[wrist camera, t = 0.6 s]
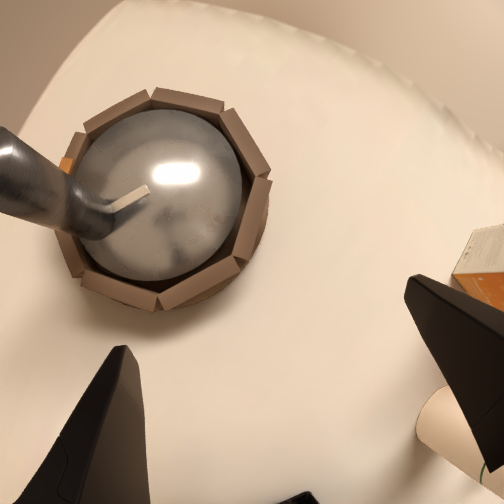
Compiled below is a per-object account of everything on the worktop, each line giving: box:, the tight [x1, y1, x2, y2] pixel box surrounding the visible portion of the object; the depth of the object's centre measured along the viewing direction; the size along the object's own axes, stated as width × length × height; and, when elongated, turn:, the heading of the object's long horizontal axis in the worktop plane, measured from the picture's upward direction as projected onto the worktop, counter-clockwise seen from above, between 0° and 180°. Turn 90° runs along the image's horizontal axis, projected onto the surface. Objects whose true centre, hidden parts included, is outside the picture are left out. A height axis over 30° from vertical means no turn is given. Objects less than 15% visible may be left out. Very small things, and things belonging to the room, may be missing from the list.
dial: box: [0, 109, 242, 281], centre depth 15 cm, size 13×13×14 cm
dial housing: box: [54, 87, 273, 313], centre depth 21 cm, size 17×17×4 cm
